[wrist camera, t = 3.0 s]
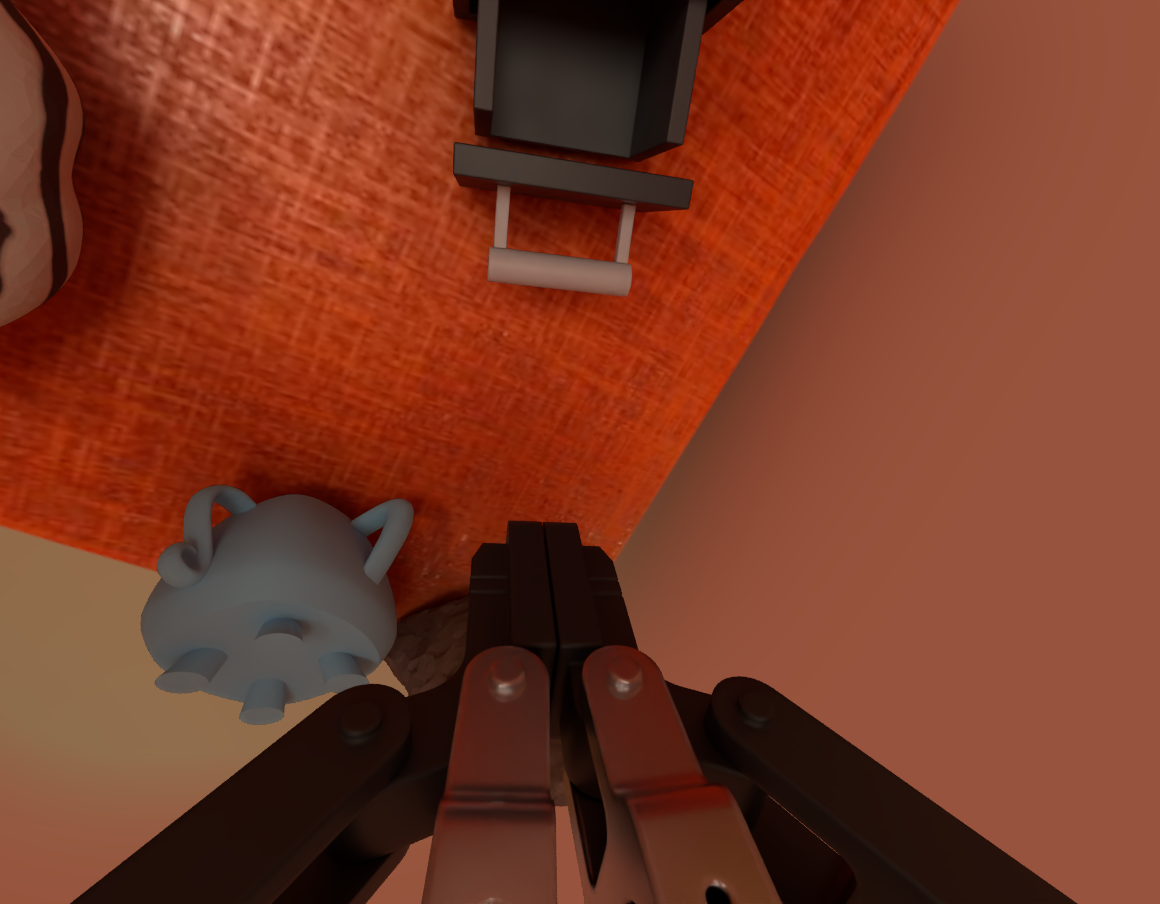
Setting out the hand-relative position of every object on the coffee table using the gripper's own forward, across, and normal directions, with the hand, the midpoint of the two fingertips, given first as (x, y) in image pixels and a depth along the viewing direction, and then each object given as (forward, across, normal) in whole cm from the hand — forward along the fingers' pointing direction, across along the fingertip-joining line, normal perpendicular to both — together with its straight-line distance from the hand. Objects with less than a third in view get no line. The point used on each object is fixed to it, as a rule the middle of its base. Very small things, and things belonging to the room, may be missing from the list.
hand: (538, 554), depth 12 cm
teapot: (+12, -12, -18) cm, 25 cm away
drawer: (+24, +2, +10) cm, 27 cm away
